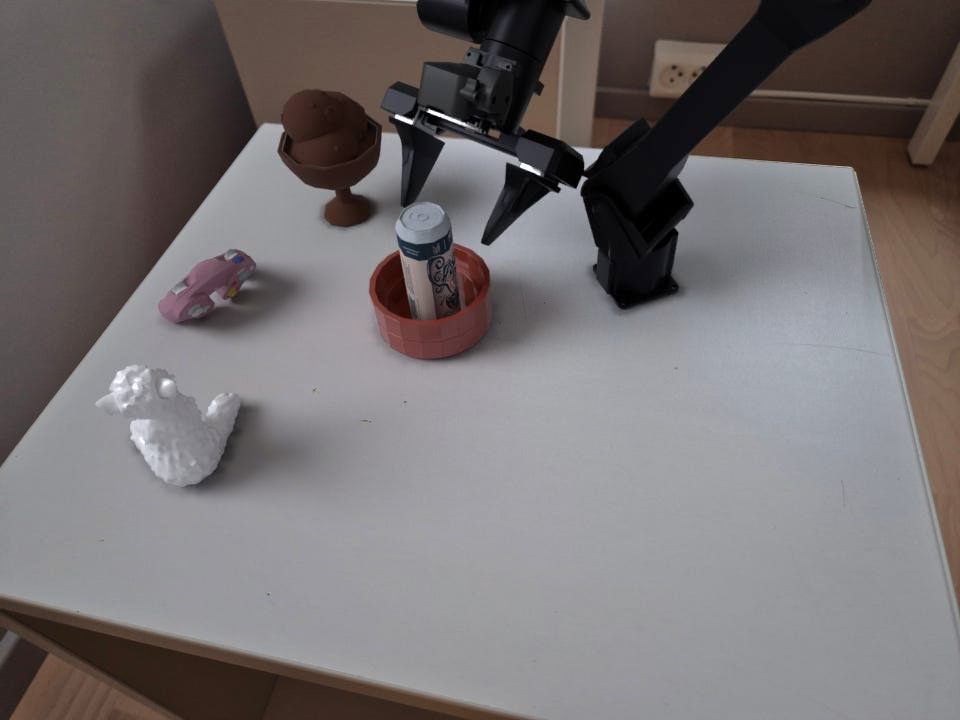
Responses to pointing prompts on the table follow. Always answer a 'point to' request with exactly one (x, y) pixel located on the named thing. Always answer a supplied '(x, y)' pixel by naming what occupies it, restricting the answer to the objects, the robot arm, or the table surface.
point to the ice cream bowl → (331, 149)
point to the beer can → (428, 261)
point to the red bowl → (432, 334)
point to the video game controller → (207, 285)
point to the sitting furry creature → (171, 423)
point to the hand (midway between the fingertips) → (443, 225)
